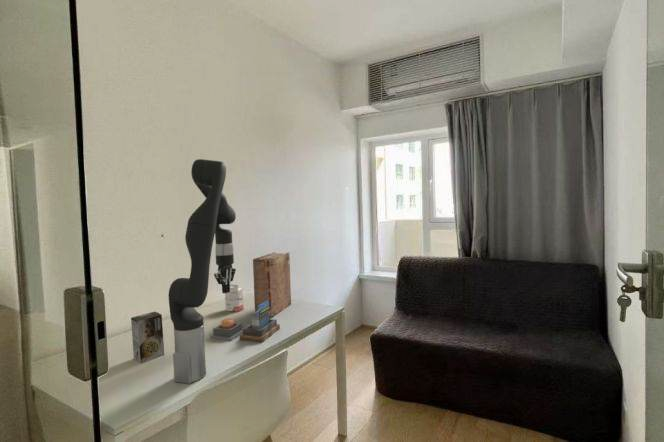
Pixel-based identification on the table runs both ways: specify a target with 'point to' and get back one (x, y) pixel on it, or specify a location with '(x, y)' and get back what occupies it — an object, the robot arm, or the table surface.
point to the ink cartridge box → (234, 299)
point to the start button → (227, 323)
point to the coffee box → (147, 336)
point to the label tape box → (261, 316)
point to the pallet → (260, 332)
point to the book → (272, 282)
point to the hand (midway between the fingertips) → (226, 292)
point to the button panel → (227, 332)
